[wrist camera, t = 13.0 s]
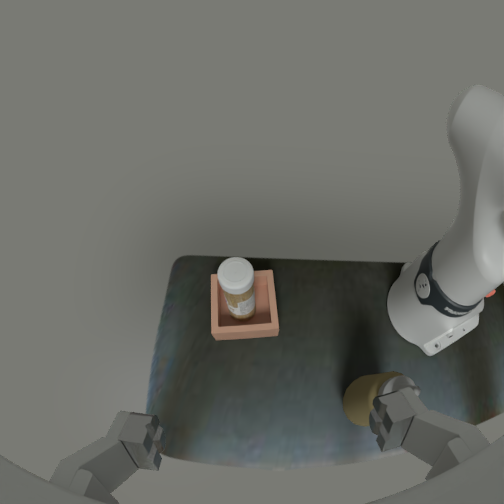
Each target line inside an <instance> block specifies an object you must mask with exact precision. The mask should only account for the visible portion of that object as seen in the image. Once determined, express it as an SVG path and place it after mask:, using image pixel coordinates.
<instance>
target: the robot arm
mask: <svg viewBox="0 0 504 504" xmlns="http://www.w3.org/2000/svg"><path fill="white" fill-rule="evenodd" d="M447 136H448V141H449V144H450V147H451V149H452V151H453V154H454V156H455V159H456V163H457V166H458V171H459V176H460V201H459V207H458V211H457V214H456V216H455V218H454V220H453V222H452V224H451V225H450V227H449V229H448V230H447V232H446V233H445V235H444V236H443V238H442V239H441V240H440V241H438V242H436V243H435V244H434V245H433V246H432V247H431V248H430V249H429V250H428V251H424V252H422V253H421V254H420V255H419V256H418V257H417V258H416V259H415V260H414V261H413V262H407V263H405V264H404V265H403V267H402V269H401V273H400V276H399V278H398V279H397V280H396V281H395V282H394V283H393V285H392V286H391V288H390V291H389V294H388V299H387V308H388V314H389V317H390V320H391V322H392V324H393V326H394V328H395V329H396V331H397V332H398V333H399V334H400V335H401V336H402V337H403V338H404V339H406V340H407V341H409V342H411V343H413V344H416V345H417V346H419V347H420V348H421V349H422V350H423V351H424V352H425V353H426V354H427V355H428V356H432V355H434V354H436V353H437V352H439V351H441V350H442V349H444V348H446V347H447V346H449V345H450V344H452V343H453V342H455V341H456V340H458V339H459V338H461V337H462V336H464V335H465V334H467V333H468V332H470V331H471V330H472V329H474V328H475V327H476V326H477V325H478V322H479V313H480V312H481V311H482V310H483V307H484V297H485V296H486V297H489V296H491V295H493V294H494V293H495V288H496V287H498V286H499V285H500V284H501V283H502V282H504V95H502V94H500V93H499V92H497V91H494V90H492V89H490V88H488V87H486V86H484V85H481V84H477V85H473V86H470V87H468V88H466V89H464V90H463V91H462V92H460V93H459V94H458V95H457V97H456V98H455V99H454V101H453V102H452V104H451V106H450V109H449V112H448V117H447ZM435 345H436V347H435ZM372 404H373V406H374V408H373V409H372V410H371V411H370V415H369V425H370V428H371V430H372V433H374V434H376V435H378V437H377V440H376V441H377V443H378V445H379V447H380V450H381V452H384V451H387V450H390V449H394V448H397V447H400V446H401V447H402V448H403V449H405V450H406V451H408V452H410V453H411V454H413V455H415V456H416V457H418V458H419V459H421V460H423V461H424V462H426V463H428V464H430V465H431V466H433V467H432V469H431V470H430V471H429V473H428V474H427V476H426V478H425V479H426V480H427V481H425V482H423V483H421V484H418V485H416V486H414V487H411V488H409V489H406V490H404V491H401V492H399V493H396V494H393V495H391V496H388V497H385V498H382V499H379V500H376V501H373V502H370V503H366V504H504V435H503V436H502V437H501V438H499V439H498V440H496V441H495V442H494V443H492V444H490V443H489V442H488V440H487V439H486V438H485V436H484V435H483V434H482V433H481V431H480V430H479V429H478V428H477V427H476V426H475V425H472V424H469V423H466V422H463V421H460V420H457V419H455V418H452V417H449V416H446V415H444V414H441V413H438V412H436V411H433V410H430V411H428V409H427V408H426V407H425V405H424V404H423V403H422V401H421V400H420V399H419V397H418V396H417V395H416V394H415V392H414V391H413V390H412V388H410V387H407V388H404V389H400V390H398V391H394V392H390V393H387V394H383V395H379V396H376V397H375V398H374V399H373V403H372ZM159 422H160V421H159V419H158V417H157V416H156V415H150V414H142V413H135V412H126V411H120V412H118V414H117V416H116V418H115V420H114V421H113V424H112V425H111V428H110V429H109V431H108V434H107V436H106V438H104V437H102V438H100V439H99V440H97V441H95V442H93V443H92V444H90V445H88V446H86V447H85V448H83V449H81V450H79V451H77V452H76V453H74V454H72V455H70V456H68V457H67V458H65V459H63V460H61V461H60V463H59V465H58V467H57V468H56V470H55V472H54V474H53V475H52V477H51V479H50V481H47V480H45V479H43V478H41V477H38V476H37V475H35V474H33V473H31V472H29V471H27V470H25V469H23V468H21V467H20V466H18V465H16V464H14V463H13V462H11V461H9V460H8V459H6V458H4V457H3V456H1V455H0V504H119V503H118V501H117V500H116V499H115V498H114V497H113V496H112V495H111V494H110V493H111V492H113V491H114V490H115V489H116V488H117V487H119V486H120V485H121V484H122V483H123V482H124V481H126V480H127V479H128V478H129V477H130V476H131V475H132V474H133V473H135V472H136V471H137V470H138V468H141V469H149V470H156V471H158V470H159V467H160V463H161V459H162V458H161V456H160V453H161V452H162V451H164V448H165V444H166V437H165V433H164V430H163V429H162V428H161V427H160V426H159Z"/></svg>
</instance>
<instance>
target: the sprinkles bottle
mask: <svg viewBox="0 0 504 504" xmlns="http://www.w3.org/2000/svg"><path fill="white" fill-rule="evenodd" d="M217 275H218V280H219V283H220V286H221V287H222V289H223V292H224V296H225V299H226V302H227V306H228V308H229V314H230V316H231V317H232V318H233V319H234V320H236V321H239V322H245V321H248V320H250V319H251V318H253V316H254V315H255V312H256V306H255V292H254V285H253V282H254V271H253V267H252V265H251V264H250V263H249V262H248V261H247V260H246V259H244V258H240V257H232V258H229V259H227V260H225V261H224V262H223V263H222V264H221V265H220V266H219V269H218V273H217Z"/></svg>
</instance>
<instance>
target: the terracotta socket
mask: <svg viewBox="0 0 504 504" xmlns="http://www.w3.org/2000/svg"><path fill="white" fill-rule="evenodd" d="M253 285H254V292H255V306H256V312H255V315H254V316H253V318H251V319H250V320H248V321H245V322H239V321H236V320H234V319H233V318H232V317H231V316H230V314H229V308H228V306H227V302H226V299H225V296H224V292H223V289H222V287H221V286H220V283H219V280H218V275H217V274H211V326H212V335H213V336H214V338H215V339H216V340H228V339H244V338H257V337H269V336H278V332H279V323H278V314H277V305H276V297H275V288H274V279H273V271H272V270H263V271H254V282H253Z"/></svg>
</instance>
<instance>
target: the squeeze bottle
mask: <svg viewBox="0 0 504 504" xmlns="http://www.w3.org/2000/svg"><path fill="white" fill-rule="evenodd" d="M407 387H410V388H412V390H413V391H414V392H415V394H416V395H417V396H419V394H420V388H419V387H418V386H415V384H414V382H413V381H412V380H411V379H410V378H409V377H406V376H404V375H403V374H402V373H398V372H394V371H392V372H386V373H379V374H372V375H365V376H361V377H359V378H358V379H356V380H354V381H353V382H352V383H351V384H350V385H349V387H348V388H347V389H346V392H345V394H344V397H343V410H344V412H345V414H346V416H347V418H348V419H349V420H350V421H352V422H353V423H354V424H356V425H361V426H370V425H369V415H370V411H371V410H372V409H373V408H374V406H373V404H372V403H373V399H374V398H375V397H376V396H379V395H383V394H387V393H390V392H394V391H398V390H400V389H404V388H407Z"/></svg>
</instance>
